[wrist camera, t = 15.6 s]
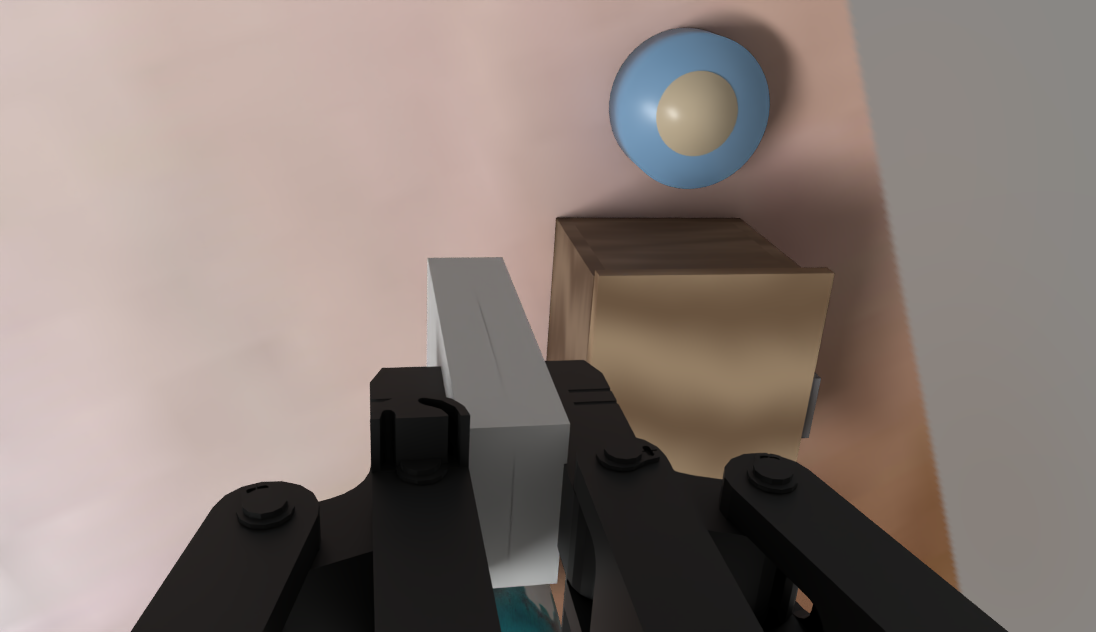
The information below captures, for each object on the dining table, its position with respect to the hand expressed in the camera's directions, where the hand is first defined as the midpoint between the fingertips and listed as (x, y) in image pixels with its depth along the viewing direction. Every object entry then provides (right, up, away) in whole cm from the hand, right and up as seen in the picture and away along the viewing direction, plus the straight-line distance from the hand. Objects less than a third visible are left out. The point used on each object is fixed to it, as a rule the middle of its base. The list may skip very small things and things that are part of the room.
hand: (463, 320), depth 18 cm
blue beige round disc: (+9, +12, +31) cm, 34 cm away
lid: (+9, -4, +29) cm, 31 cm away
